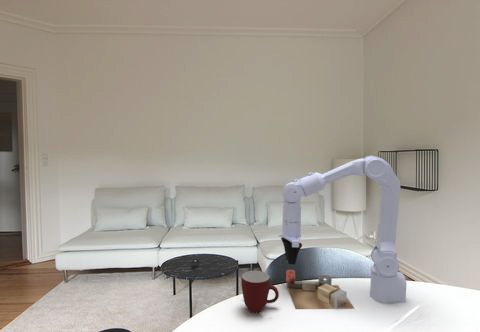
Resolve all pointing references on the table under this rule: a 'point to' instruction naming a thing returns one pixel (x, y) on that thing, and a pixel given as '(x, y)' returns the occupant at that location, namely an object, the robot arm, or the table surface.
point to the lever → (306, 282)
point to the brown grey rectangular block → (338, 299)
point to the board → (312, 299)
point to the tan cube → (326, 293)
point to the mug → (257, 290)
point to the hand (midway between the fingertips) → (290, 261)
